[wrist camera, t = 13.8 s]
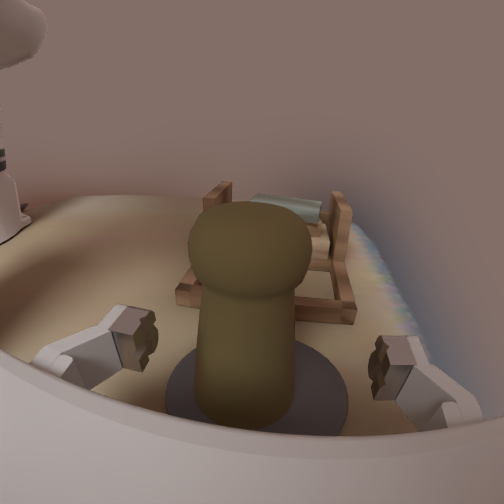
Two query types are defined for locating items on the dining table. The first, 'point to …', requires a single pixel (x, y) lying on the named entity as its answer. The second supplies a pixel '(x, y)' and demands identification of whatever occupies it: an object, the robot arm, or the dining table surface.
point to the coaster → (302, 408)
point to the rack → (323, 256)
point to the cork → (247, 310)
